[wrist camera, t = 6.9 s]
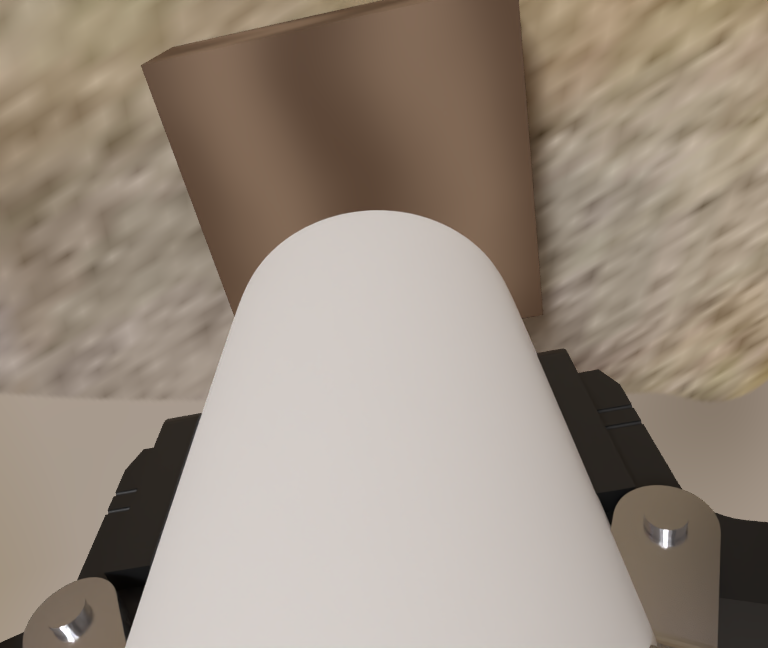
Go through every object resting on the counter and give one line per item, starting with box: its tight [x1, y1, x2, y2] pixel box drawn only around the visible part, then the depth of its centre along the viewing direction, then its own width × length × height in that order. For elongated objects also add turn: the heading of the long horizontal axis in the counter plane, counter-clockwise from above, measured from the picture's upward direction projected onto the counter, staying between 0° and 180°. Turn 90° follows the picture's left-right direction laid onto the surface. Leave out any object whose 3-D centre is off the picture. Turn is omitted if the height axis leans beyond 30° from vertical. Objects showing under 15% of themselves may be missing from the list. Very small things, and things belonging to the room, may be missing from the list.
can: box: [125, 210, 657, 648], centre depth 10 cm, size 6×6×12 cm
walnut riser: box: [141, 0, 543, 319], centre depth 25 cm, size 12×12×4 cm
